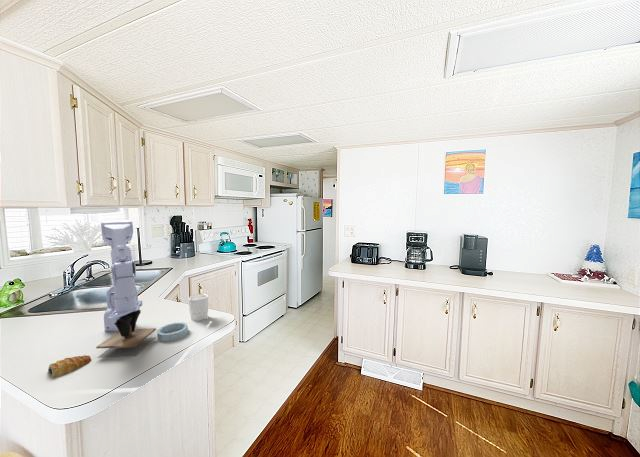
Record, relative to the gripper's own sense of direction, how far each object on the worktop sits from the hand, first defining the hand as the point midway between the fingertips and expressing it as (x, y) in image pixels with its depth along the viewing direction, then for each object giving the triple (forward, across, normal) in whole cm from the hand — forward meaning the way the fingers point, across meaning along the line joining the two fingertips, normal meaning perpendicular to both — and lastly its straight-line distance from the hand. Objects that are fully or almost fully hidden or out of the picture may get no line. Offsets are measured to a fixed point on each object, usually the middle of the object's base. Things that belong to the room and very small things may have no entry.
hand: (127, 334), depth 89 cm
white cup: (+6, +23, -15) cm, 28 cm away
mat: (+5, 0, 0) cm, 5 cm away
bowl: (+5, +8, -11) cm, 15 cm away
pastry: (+6, -11, +11) cm, 16 cm away
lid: (+2, 0, 0) cm, 2 cm away
